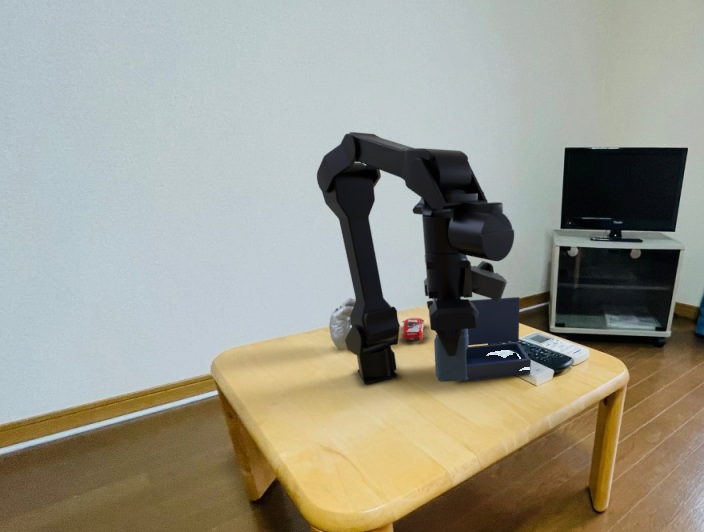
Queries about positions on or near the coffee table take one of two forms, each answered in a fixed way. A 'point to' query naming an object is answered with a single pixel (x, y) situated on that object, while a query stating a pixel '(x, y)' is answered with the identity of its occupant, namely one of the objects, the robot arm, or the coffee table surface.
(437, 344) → the vaping device
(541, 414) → the coffee table surface
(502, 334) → the lid
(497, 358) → the box
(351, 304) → the heart
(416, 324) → the race car
